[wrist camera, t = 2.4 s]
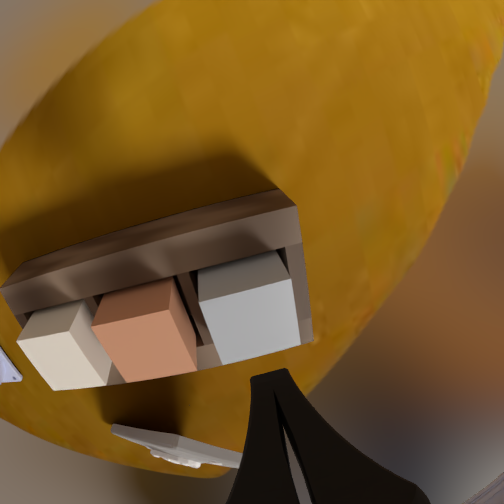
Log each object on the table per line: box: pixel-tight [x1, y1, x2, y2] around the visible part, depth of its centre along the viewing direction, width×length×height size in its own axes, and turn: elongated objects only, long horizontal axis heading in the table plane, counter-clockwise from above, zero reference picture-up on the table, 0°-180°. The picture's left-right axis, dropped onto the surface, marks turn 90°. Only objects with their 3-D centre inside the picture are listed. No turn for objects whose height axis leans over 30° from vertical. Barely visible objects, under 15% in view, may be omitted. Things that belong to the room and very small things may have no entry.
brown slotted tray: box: [0, 188, 314, 390], centre depth 18 cm, size 18×9×4 cm, turn 101°
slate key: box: [198, 250, 301, 365], centre depth 16 cm, size 4×4×3 cm
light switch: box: [111, 405, 243, 468], centre depth 23 cm, size 8×6×14 cm
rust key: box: [91, 276, 197, 383], centre depth 15 cm, size 4×4×3 cm
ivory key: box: [16, 299, 112, 391], centre depth 15 cm, size 4×4×3 cm
